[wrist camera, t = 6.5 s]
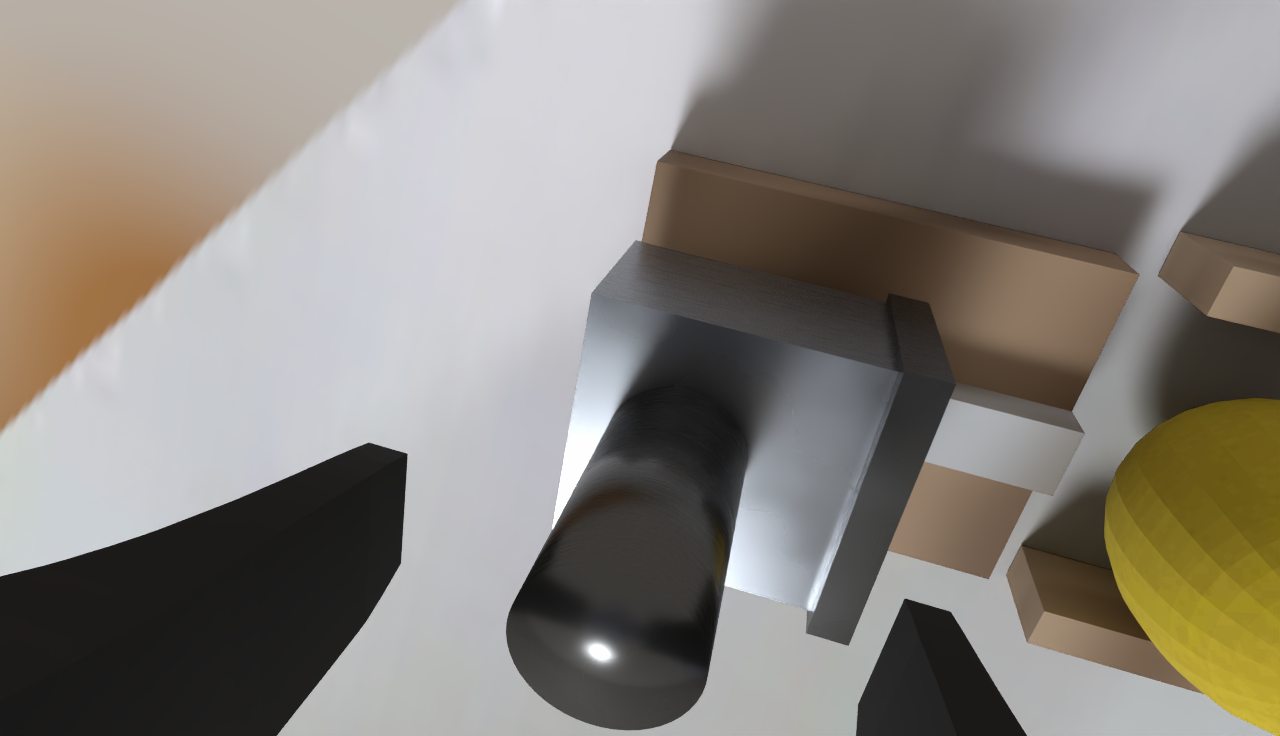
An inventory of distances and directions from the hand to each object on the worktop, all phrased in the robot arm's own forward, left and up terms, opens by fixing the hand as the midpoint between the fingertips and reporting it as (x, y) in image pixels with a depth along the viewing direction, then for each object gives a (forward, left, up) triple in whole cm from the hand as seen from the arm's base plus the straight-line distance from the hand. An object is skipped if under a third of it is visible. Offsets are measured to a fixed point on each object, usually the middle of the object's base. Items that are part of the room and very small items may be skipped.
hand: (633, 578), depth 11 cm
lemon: (-11, 0, -10) cm, 15 cm away
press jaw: (-1, 0, -7) cm, 7 cm away
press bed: (-3, 0, -10) cm, 10 cm away
